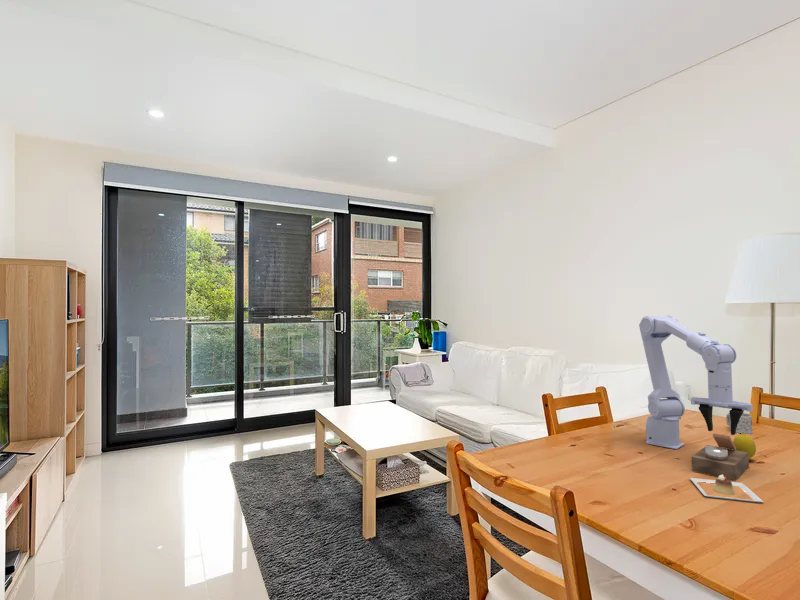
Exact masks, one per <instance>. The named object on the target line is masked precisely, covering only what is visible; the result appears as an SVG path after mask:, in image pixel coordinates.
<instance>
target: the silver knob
mask: <svg viewBox="0 0 800 600" xmlns="http://www.w3.org/2000/svg"><path fill="white" fill-rule="evenodd" d="M705 446H706V447H705ZM705 446H704V447H705V457H706V458H709V459H712V460H717V461H727V460H728V450H727V448H726V449H725V448H722V447H719V446H714V445H710V446H707V445H705Z"/></svg>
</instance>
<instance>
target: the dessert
mask: <svg viewBox="0 0 800 600" xmlns="http://www.w3.org/2000/svg"><path fill="white" fill-rule="evenodd" d="M689 479H690V481H692V483H693V484H694V486H695V487H697V489H698V490H699V491H700V492H701V494H703V496H705V497H707V498H714V499H723V500H733V501H739V502H740V501H742V502H748V503H749V502H751V503H764V500H762V498H760V497H759V496H758V495H757V494H756V493H755V492H753V491H752V490H751V488H749V487H748V486H747V485H745V483H743V482H737V481H732V480H730V479H727V478H726V477H724V475H723V474H722V475H720V476H718V477H717V478H716V479H707V478H698V477H697V478H696V477H689ZM699 482H706V483H705V484H710V483H715V484H713V488H712V491H714V492H716V493H717V494H718V493H719V494H722V495H725V496H720V495H719V496H718V495H710V494H707V492H706V491H705V490H704V489H703V488H702V487H701V485H700V484H699ZM697 483H698V484H697ZM734 487H739V488H740V489H741V490H742V491H743V492H744V493H745V494H746V495H747V496H749V498H751V499H747V498H746V499H745V498H737V497H728V496H733V495H736V491H735V489H734ZM726 496H727V497H726Z"/></svg>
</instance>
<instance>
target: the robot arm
mask: <svg viewBox="0 0 800 600" xmlns="http://www.w3.org/2000/svg"><path fill="white" fill-rule="evenodd" d="M678 321H679V320H678V319H677V318H676V317H673V316H671V315H663V316H660V315H658V316H653V315H651V316H649V315H645V316H644V317H642V319H641V320H640V322H639V324H638V327H639V333H640V335H641V336H640V337H641V340H642V346H643V348H644V352H645V358H646V362H647V366H648V371H649V375H650V380H651V385H652V388H653V391H652V392H651V393H649V395H648V396H647V400H648V405H647V409H648V413H649V414H650V415H651V416H648V417H647V418H646V421H645V422H646V423H645V429H646V430H645V435H646V441H645V444H648V445H653V446H657V447H661V448H662V447H663V448H668V449H673V450H678V449H680V448H681V447H683V446H684V445H685V443H684V442H680V440H681V439H680V420H681V419H682V417H683V416H684V414H685V412H686V411H685V410H686V409H685V405H684V402H683V401H682V399H681V396H680V394H679V393H678V392H676V390H673V388H672V385H671V380H670V376H669V373H668V369H667V365H666V361H665V356H664V351H663V347H662V343H663V342H664V341H665V340H667V339H668V338H669V337H670V336H671V335H673V336H675V337H677V338H679V339H681V341H682V340H683V341H684V342H685V345H686V346H687V348H688V349H690V350H692V351H693V352H695V353H696V354H698V355H700V356H701V357H702V360H703V362H704V365H705V369H706V370H707V388H708V389H707V392H708V395H707V397H697V396H696V397H695V396H691V397H690V404H691V405H699V406H698V411H699V412H700V413H701V416H702V417H703V418H704V421H705V423H706V428H707V431H708V432H712V431H713V430H714V424H713V409H714V408H713V407H715V408H723V409H730V410H729V411H728V412H729V413H730V420H731V432H730V436H735V435H736V434H737V433H736V428H737V424H738V422H739V419H740V417H741V416H742V414H743V413H745V411H746V412H753V411H754V408H753V407H754V406H753V403H749V402H741V401H737V400H735V401H734V400H733V398H734V397H733V377H732V371H733V370H732V364H733V363H734V362H735V361H736V359H737V352H736V349H735V348H734V347H732V346H731V345H730V344H727V343H723V344H721V343H719V341H718V340H715V339H712V338H710V337H708V336H707V335H706V333H705V332H704V331H700V332H696V331H695V332H693V331H692V330H690V329H689V328H687V327H685V325H683V324H681V323H680V322H678Z"/></svg>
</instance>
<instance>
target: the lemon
mask: <svg viewBox="0 0 800 600" xmlns="http://www.w3.org/2000/svg"><path fill="white" fill-rule="evenodd" d="M732 441H733V443H734V445H735V447H736V450H737V451H742V452H748V459H751V458H753V457H754V456H755V454H756V452H757V445H756V443H755V440H754V439H753V438H752V437H751V436H750V435H746V434H738V435H736V436H735V437H734V438H733V440H732Z"/></svg>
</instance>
